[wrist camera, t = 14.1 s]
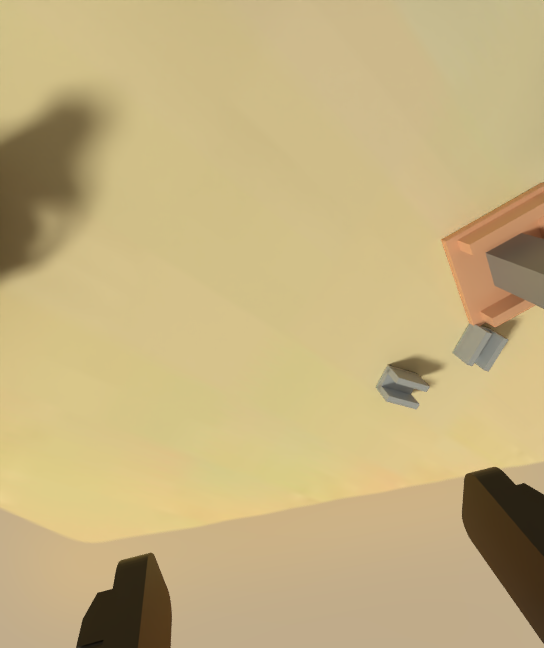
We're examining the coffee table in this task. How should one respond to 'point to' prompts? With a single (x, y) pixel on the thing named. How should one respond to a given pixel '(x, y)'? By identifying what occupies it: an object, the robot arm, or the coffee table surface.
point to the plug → (519, 267)
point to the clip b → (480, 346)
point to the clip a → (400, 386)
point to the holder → (471, 262)
